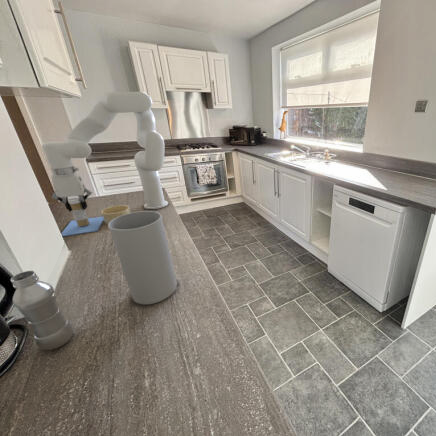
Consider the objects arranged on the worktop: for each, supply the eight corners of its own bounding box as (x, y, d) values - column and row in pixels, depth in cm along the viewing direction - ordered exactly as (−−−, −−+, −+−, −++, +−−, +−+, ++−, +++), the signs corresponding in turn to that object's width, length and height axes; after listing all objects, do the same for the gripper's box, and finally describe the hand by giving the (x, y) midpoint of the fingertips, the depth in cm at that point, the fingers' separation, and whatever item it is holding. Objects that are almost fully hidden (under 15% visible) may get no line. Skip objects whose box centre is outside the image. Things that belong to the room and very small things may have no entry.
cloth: (71, 221, 121) (71, 220, 120) (105, 216, 126) (105, 216, 126) (59, 237, 106) (58, 236, 106) (97, 231, 112) (97, 230, 112)
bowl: (107, 218, 125) (103, 207, 123) (133, 214, 130) (130, 204, 127) (102, 226, 116) (98, 215, 113) (130, 222, 120) (127, 211, 118)
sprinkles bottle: (81, 223, 118) (71, 197, 112) (91, 222, 118) (82, 196, 113) (75, 227, 113) (64, 200, 108) (86, 226, 114) (76, 200, 109)
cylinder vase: (149, 311, 68) (125, 234, 58) (123, 296, 73) (97, 223, 63) (185, 286, 78) (171, 216, 68) (161, 274, 83) (143, 208, 73)
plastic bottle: (35, 358, 55) (-9, 289, 47) (48, 335, 60) (11, 270, 52) (70, 348, 57) (34, 281, 49) (80, 327, 63) (49, 263, 55)
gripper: (89, 167, 112) (101, 204, 119) (41, 171, 105) (57, 209, 112) (85, 171, 106) (98, 209, 113) (34, 175, 99) (51, 215, 106)
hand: (77, 209), depth 113 cm, fingers closed on sprinkles bottle, 4 cm apart
